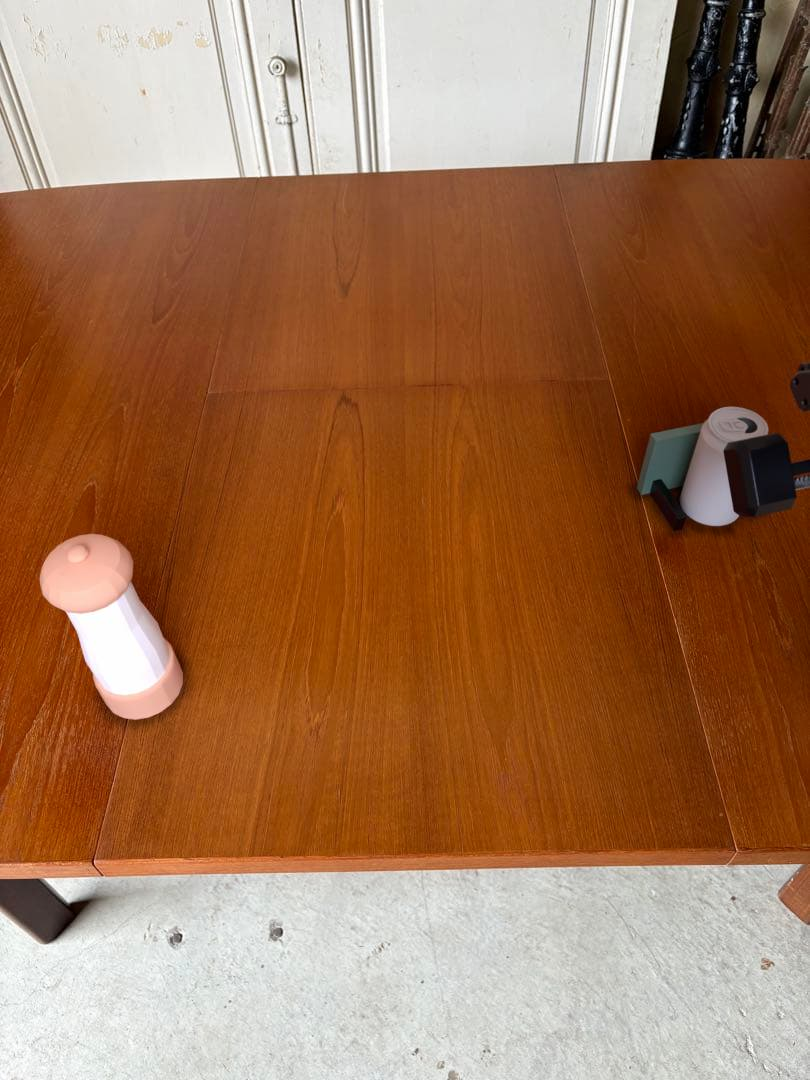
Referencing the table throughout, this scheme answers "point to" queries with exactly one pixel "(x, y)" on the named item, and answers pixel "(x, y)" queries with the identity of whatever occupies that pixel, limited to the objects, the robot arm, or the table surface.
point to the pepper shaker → (112, 625)
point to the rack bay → (668, 469)
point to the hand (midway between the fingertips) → (776, 464)
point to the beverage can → (716, 465)
